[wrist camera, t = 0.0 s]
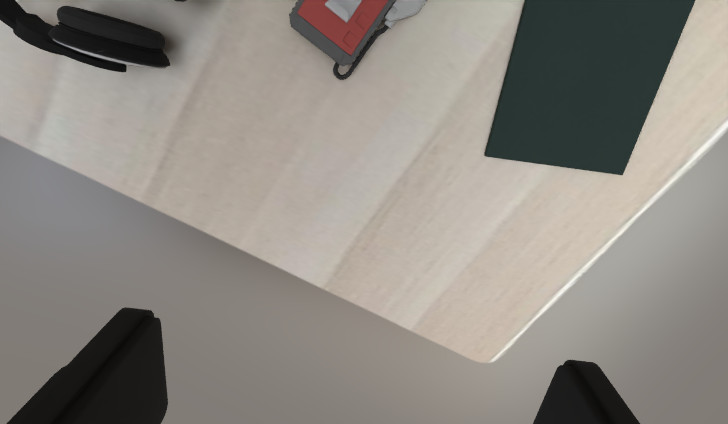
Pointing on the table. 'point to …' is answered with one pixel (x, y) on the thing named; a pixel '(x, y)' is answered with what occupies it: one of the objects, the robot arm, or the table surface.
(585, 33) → the mat
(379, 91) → the table surface
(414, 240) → the table surface
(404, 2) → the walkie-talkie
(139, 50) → the headphones
